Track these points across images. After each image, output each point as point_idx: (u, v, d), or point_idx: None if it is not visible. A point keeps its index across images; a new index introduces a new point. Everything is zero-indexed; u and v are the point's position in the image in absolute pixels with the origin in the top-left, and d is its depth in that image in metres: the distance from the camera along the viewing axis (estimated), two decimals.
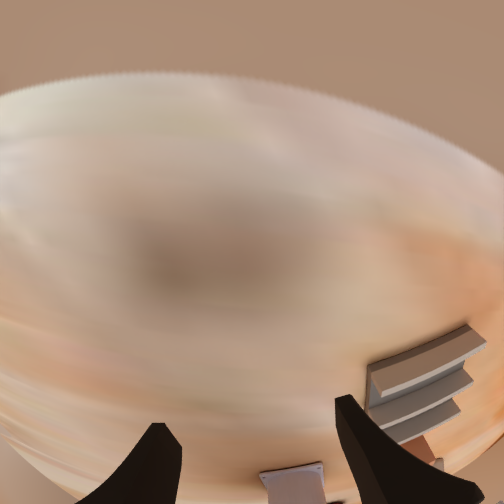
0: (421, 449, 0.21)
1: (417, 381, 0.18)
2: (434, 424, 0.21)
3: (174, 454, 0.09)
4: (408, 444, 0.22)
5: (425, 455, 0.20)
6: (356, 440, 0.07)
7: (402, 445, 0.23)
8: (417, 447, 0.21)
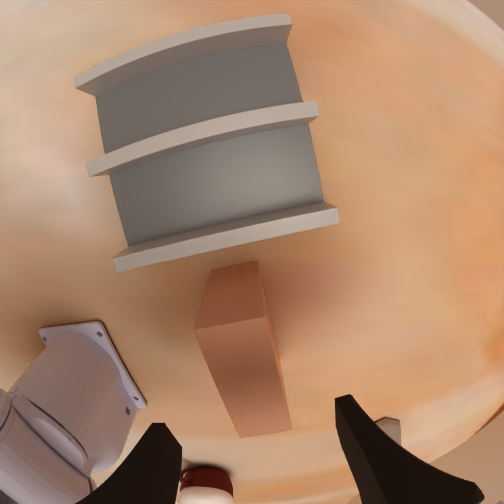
0: (240, 295, 0.13)
1: (129, 59, 0.11)
2: (258, 223, 0.13)
3: (174, 454, 0.09)
4: (219, 287, 0.15)
5: (242, 306, 0.12)
6: (356, 440, 0.07)
7: (207, 289, 0.15)
8: (233, 292, 0.14)
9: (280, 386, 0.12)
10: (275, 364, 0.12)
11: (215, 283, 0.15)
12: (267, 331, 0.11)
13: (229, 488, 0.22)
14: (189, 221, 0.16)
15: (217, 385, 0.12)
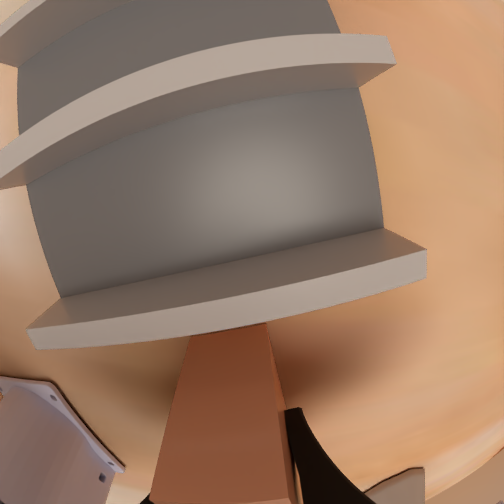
0: (236, 422, 0.06)
1: None
2: (272, 284, 0.06)
3: None
4: (199, 386, 0.08)
5: (240, 456, 0.05)
6: None
7: (180, 385, 0.08)
8: (224, 408, 0.06)
9: None
10: None
11: (193, 373, 0.08)
12: None
13: None
14: (145, 263, 0.08)
15: None
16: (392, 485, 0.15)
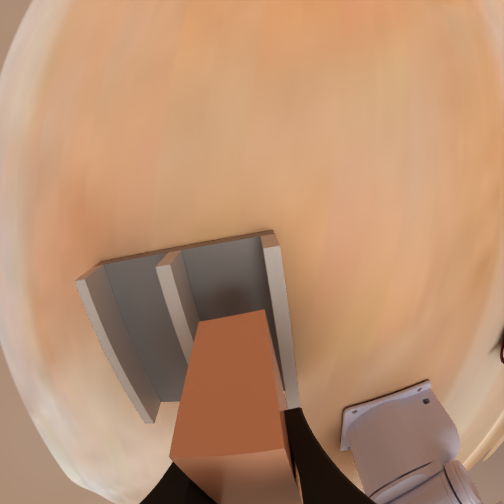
0: (241, 389, 0.08)
1: (133, 392, 0.16)
2: (274, 319, 0.14)
3: None
4: (208, 362, 0.09)
5: (245, 416, 0.07)
6: (294, 456, 0.07)
7: (191, 362, 0.09)
8: (230, 379, 0.08)
9: (298, 495, 0.07)
10: (294, 482, 0.06)
11: (203, 352, 0.10)
12: (286, 460, 0.06)
13: None
14: None
15: (211, 496, 0.07)
16: None
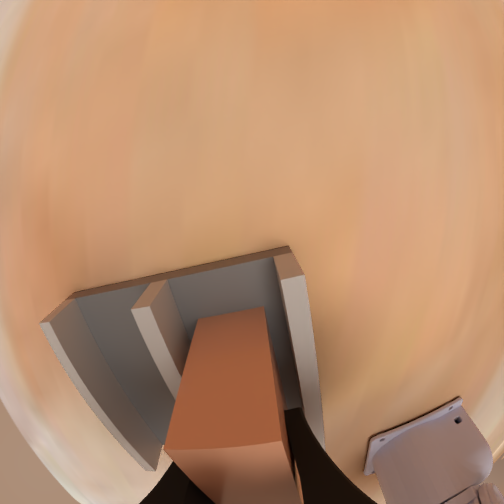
0: (238, 382, 0.08)
1: (127, 443, 0.12)
2: (296, 367, 0.10)
3: None
4: (206, 357, 0.09)
5: (241, 408, 0.07)
6: (294, 456, 0.07)
7: (189, 357, 0.09)
8: (228, 372, 0.08)
9: (297, 494, 0.06)
10: (292, 480, 0.06)
11: (201, 347, 0.10)
12: (283, 454, 0.05)
13: None
14: (289, 391, 0.14)
15: (208, 494, 0.06)
16: None
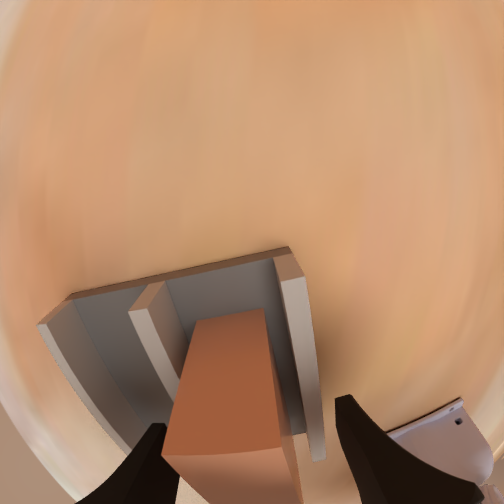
0: (237, 386, 0.07)
1: (126, 445, 0.12)
2: (296, 370, 0.10)
3: None
4: (205, 360, 0.09)
5: (240, 413, 0.06)
6: (356, 440, 0.07)
7: (188, 360, 0.09)
8: (227, 376, 0.08)
9: (297, 498, 0.06)
10: (292, 485, 0.06)
11: (200, 350, 0.10)
12: (283, 460, 0.05)
13: None
14: (289, 394, 0.13)
15: (207, 499, 0.06)
16: None
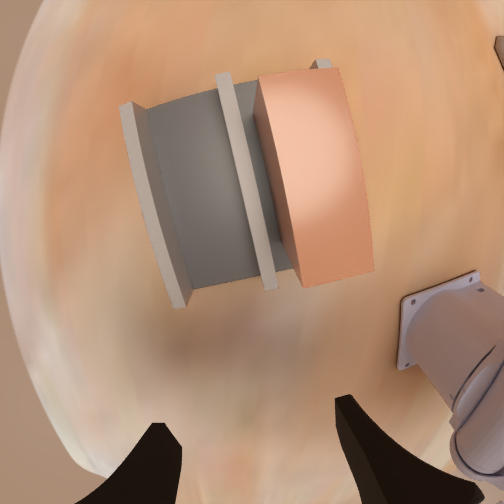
0: None
1: (164, 250, 0.15)
2: None
3: (174, 454, 0.09)
4: None
5: None
6: (356, 440, 0.07)
7: (255, 103, 0.12)
8: None
9: (361, 172, 0.09)
10: (354, 132, 0.09)
11: None
12: (341, 84, 0.08)
13: None
14: None
15: (281, 164, 0.09)
16: None
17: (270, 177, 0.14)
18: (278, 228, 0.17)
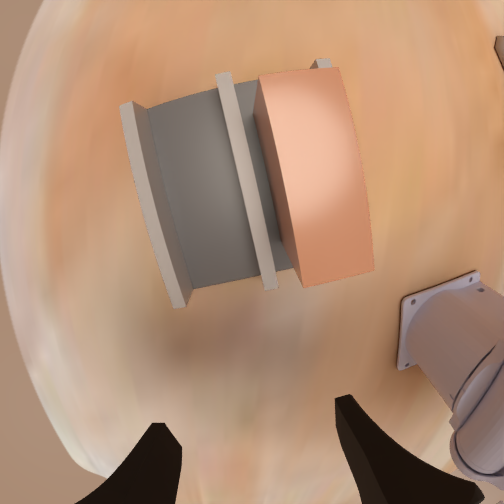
0: None
1: (164, 250, 0.15)
2: None
3: (174, 454, 0.09)
4: None
5: None
6: (356, 440, 0.07)
7: (256, 103, 0.12)
8: None
9: (361, 171, 0.09)
10: (354, 132, 0.09)
11: None
12: (342, 84, 0.08)
13: None
14: None
15: (281, 163, 0.09)
16: None
17: (270, 177, 0.14)
18: (278, 228, 0.17)
